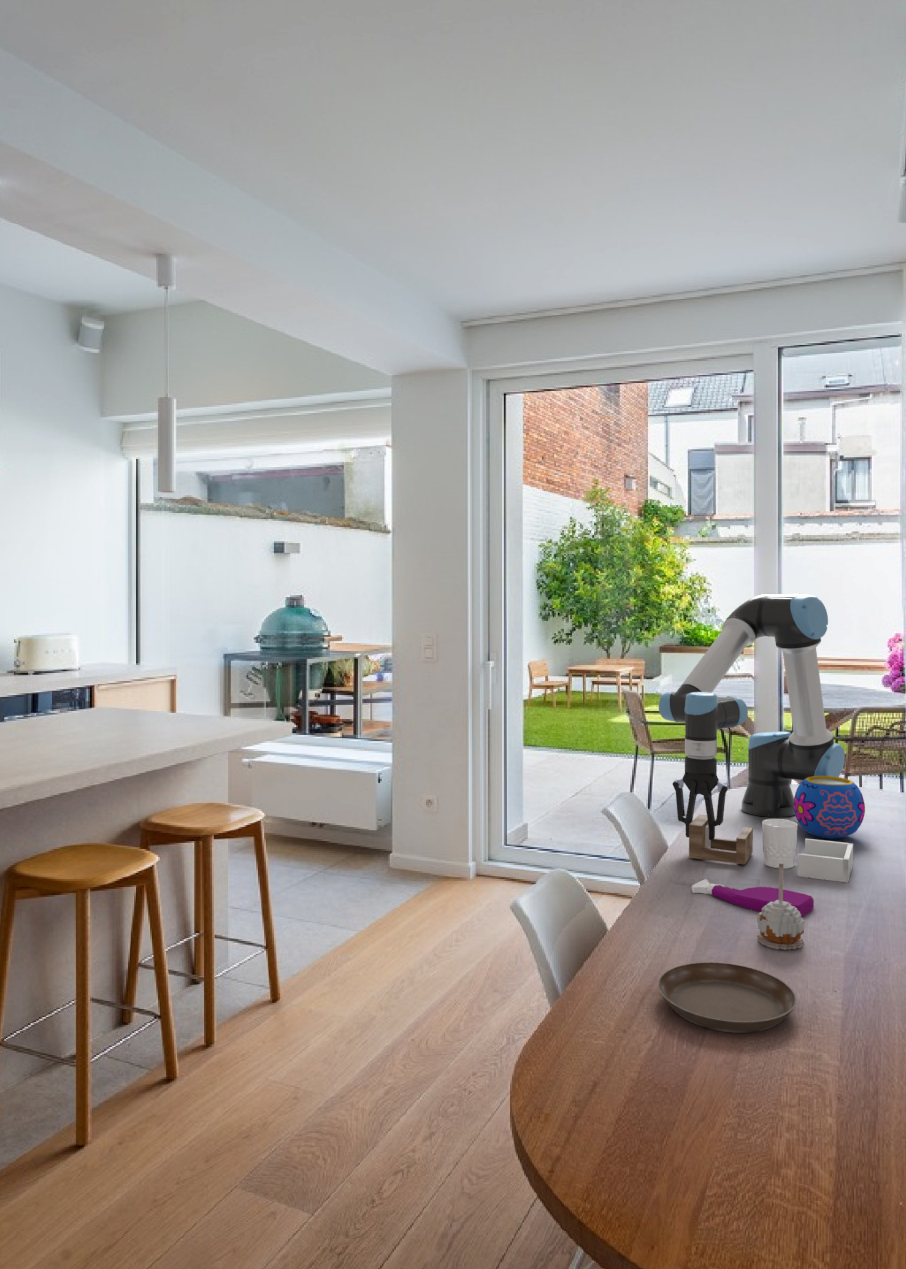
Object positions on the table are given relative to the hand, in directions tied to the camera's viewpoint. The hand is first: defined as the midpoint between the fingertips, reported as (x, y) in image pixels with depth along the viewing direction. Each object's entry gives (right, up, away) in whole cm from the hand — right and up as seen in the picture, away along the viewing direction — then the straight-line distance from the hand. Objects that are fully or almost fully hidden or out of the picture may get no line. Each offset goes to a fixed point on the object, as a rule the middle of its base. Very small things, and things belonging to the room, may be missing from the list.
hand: (700, 851), depth 230 cm
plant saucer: (-18, -6, -83) cm, 85 cm away
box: (+26, -1, -13) cm, 29 cm away
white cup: (+16, -1, -8) cm, 19 cm away
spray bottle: (+1, -3, -33) cm, 34 cm away
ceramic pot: (+38, 0, +16) cm, 41 cm away
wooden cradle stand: (+5, 0, -2) cm, 5 cm away
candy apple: (0, -4, -57) cm, 58 cm away
